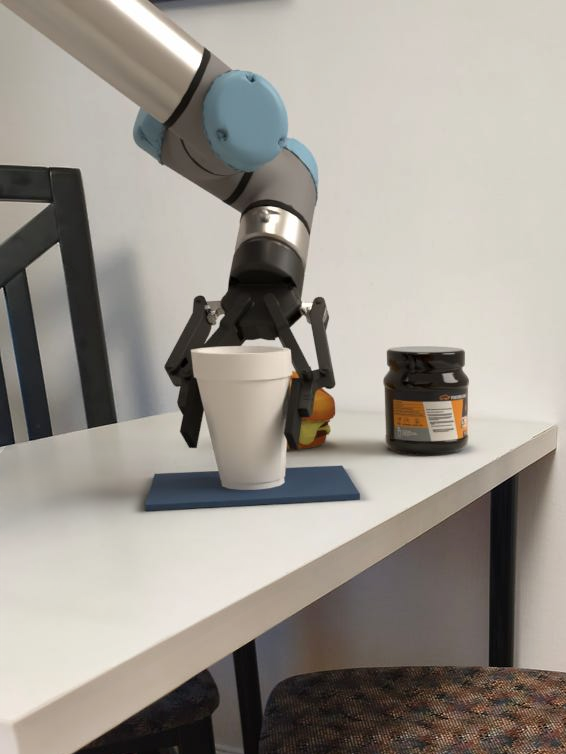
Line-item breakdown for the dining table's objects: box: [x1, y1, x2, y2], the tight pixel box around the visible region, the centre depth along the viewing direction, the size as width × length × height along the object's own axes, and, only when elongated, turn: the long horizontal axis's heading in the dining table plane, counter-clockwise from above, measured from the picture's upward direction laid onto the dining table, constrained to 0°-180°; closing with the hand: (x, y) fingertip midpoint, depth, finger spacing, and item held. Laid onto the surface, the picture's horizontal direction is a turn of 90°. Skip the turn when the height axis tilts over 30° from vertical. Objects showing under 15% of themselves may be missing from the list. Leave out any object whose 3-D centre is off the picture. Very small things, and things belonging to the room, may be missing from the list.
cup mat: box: [144, 464, 361, 512], centre depth 91 cm, size 20×14×1 cm
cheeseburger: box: [286, 370, 336, 451], centre depth 112 cm, size 10×11×10 cm
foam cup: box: [191, 345, 293, 490], centre depth 89 cm, size 10×9×13 cm
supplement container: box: [382, 345, 470, 456], centre depth 110 cm, size 10×10×12 cm
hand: (239, 440), depth 86 cm, fingers closed on foam cup, 9 cm apart
